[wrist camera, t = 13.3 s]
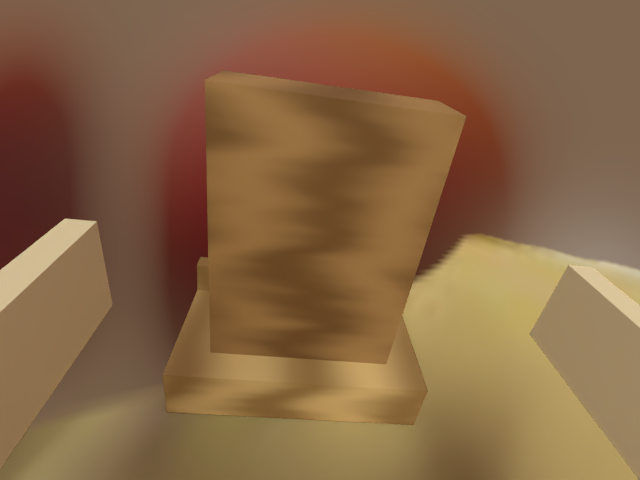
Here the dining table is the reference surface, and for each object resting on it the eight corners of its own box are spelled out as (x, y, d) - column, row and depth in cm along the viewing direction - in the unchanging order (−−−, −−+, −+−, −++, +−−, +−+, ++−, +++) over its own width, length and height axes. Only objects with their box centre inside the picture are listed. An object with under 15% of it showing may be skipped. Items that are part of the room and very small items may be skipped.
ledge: (166, 412, 20) (159, 346, 18) (202, 313, 27) (200, 256, 24) (413, 424, 21) (438, 366, 19) (386, 327, 28) (402, 275, 26)
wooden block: (210, 352, 20) (204, 80, 13) (223, 308, 23) (224, 70, 16) (386, 364, 21) (466, 116, 14) (375, 320, 24) (436, 100, 17)
